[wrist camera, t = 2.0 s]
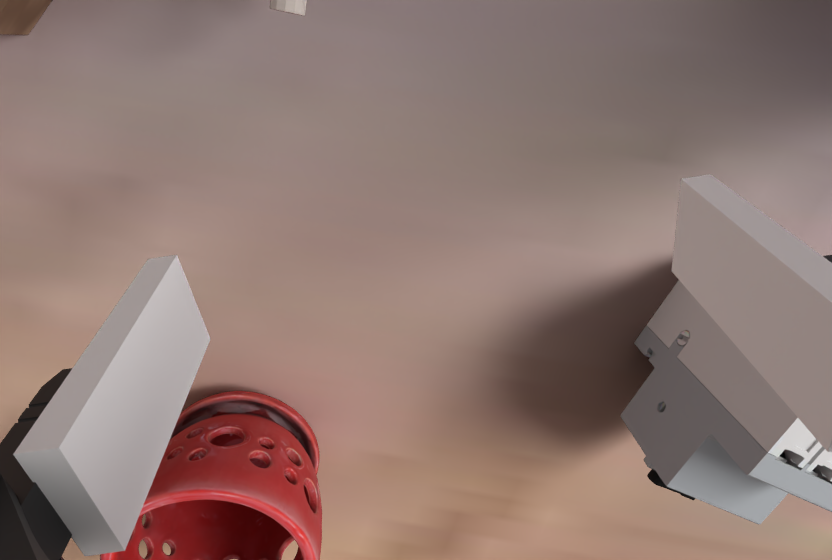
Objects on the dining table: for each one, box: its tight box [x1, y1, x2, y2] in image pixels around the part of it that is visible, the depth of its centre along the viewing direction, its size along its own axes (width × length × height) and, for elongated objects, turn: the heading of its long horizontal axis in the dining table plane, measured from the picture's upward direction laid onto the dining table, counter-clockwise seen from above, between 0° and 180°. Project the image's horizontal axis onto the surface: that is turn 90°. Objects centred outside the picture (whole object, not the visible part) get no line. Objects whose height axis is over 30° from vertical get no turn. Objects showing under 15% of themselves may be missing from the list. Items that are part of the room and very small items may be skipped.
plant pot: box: [100, 391, 322, 560], centre depth 41 cm, size 13×13×12 cm
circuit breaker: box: [621, 280, 832, 524], centre depth 39 cm, size 8×14×15 cm, turn 153°
